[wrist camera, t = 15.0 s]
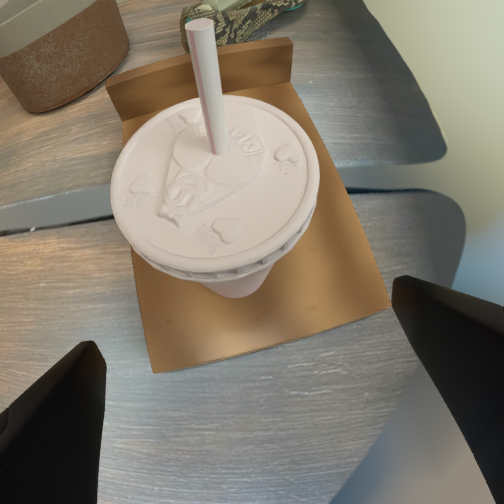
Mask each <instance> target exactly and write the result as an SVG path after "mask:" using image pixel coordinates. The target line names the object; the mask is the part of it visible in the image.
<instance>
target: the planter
mask: <svg viewBox="0 0 504 504" xmlns="http://www.w3.org/2000/svg"><path fill="white" fill-rule="evenodd" d="M128 50H129V39H128V36H127V33H126V30H125V27H124V24H123V21H122V18H121V15H120V12H119V9H118V6H117V3H116V0H9V1H7V2H6V3H5V4H4V5H2V6H1V7H0V75H1V76H2V78H3V79H4V81H5V82H6V84H7V85H8V87H9V88H10V89H11V91H12V92H13V94H14V95H15V96H16V98H17V99H18V101H19V102H20V103H21V105H22V106H23V107H24V108H25V109H26V110H27V111H30V112H44V111H48V110H51V109H54V108H57V107H60V106H62V105H65V104H67V103H69V102H71V101H73V100H75V99H76V98H78V97H80V96H81V95H83V94H85V93H86V92H88V91H89V90H91V89H92V88H94V87H95V86H96V85H98V84H99V83H100V82H102V81H103V80H104V79H105V78H106V77H108V76H109V75H110V74H111V73H112V72H113V71H114V70H115V69H116V68H117V67H118V66H119V64H120V63H121V62H122V61H123V59H124V58H125V56H126V54H127V52H128Z"/></svg>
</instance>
